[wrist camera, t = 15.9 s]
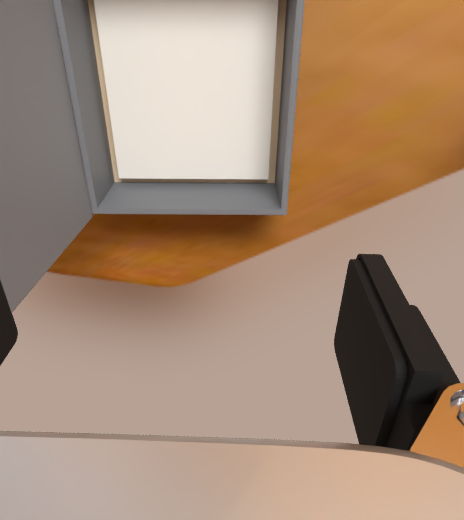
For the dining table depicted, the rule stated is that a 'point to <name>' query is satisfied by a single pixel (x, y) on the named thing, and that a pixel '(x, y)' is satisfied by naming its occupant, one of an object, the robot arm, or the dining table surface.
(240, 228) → the dining table surface
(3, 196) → the lid
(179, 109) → the white flat rectangular panel
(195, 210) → the box
